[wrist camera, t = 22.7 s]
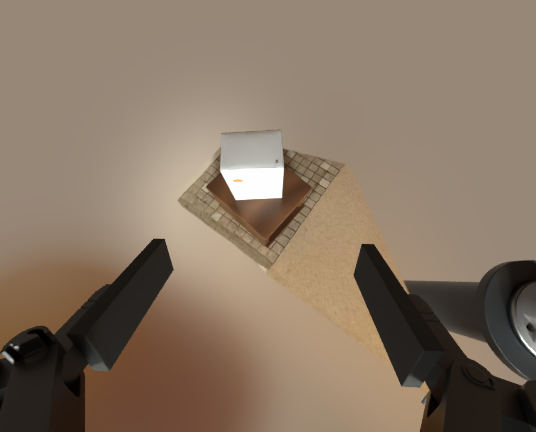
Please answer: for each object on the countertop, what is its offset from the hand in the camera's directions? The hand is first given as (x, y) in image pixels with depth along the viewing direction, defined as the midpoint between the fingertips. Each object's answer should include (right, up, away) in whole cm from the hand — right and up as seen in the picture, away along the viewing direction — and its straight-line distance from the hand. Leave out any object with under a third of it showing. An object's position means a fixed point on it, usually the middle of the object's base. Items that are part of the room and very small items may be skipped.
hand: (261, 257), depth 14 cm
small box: (-1, +8, +22) cm, 23 cm away
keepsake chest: (-1, +5, +31) cm, 32 cm away
